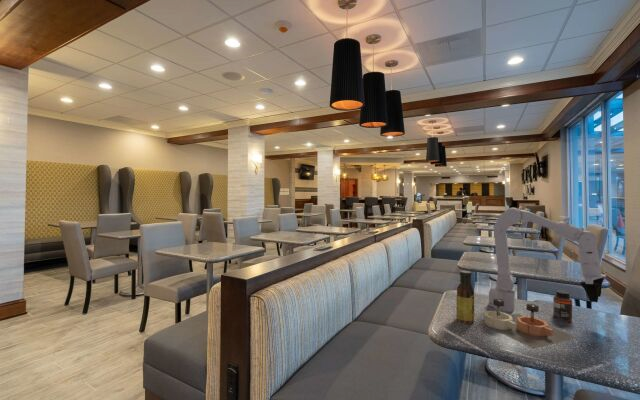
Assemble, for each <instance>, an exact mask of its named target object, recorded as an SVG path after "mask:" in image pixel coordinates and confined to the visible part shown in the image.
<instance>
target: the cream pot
mask: <svg viewBox="0 0 640 400" xmlns="http://www.w3.org/2000/svg"><path fill="white" fill-rule="evenodd" d="M483 315H484V319H483V320H485V324H486V325H488V326H490V327H492V328H496V329H501V330H509V329H513V330H516V323H514V322H513V319H512V316H511V315H512V314H508V313H506V312H504V311H500V316H497V310H488V311H487V310H486V311H484V314H483ZM486 325H485V326H486ZM488 326H487V327H488ZM490 327H489V328H490ZM492 328H491V329H492Z"/></svg>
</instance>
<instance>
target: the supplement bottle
mask: <svg viewBox="0 0 640 400" xmlns="http://www.w3.org/2000/svg"><path fill="white" fill-rule="evenodd" d="M552 306H553V308H552V312H553V313H552V317H553V318H555V319H557V320H559V321H564V322H567V323H570V322H572V319H573V299H572V298H571V297H570V292H569V291H566V290H559V289H558V290H556V295H554V296H553V304H552Z"/></svg>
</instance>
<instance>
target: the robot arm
mask: <svg viewBox="0 0 640 400" xmlns="http://www.w3.org/2000/svg"><path fill="white" fill-rule="evenodd" d="M520 221H521V222H522V223H526V222H528V223H529V222H531V223H534V224H536V225H539V226H541V227H545V228H547V229H549V230H552V232H553V234H554V235H556V236H559V237H560V238H563V239H565V240H568V241H571V242H576V243H578V256H579V264H580V271H581V277H582V278H583V279H584V281H580V285H581V287H582V288H583V290H585V294H586V296H587V298H588V300H589V302H592V303H598V302H599V297H601V295H602V287H603V282H604V280H605V278H606V277H607V274H603V273H602V269H601V261H600V255H599V250H598V245H597V244H598V243H599V239H598V238H597V237H598V236H596V234H594V233H593V232H592V231H589V229H585V228H584V227H578V226H576V225H572V224H571V223H570V221H567V220H566V221H562V220H561V221H557V222H555V221H553V220H550V219H548V218H546V217H544V216H541V215H538V214H537V213H534V212H531V211H528V210H524V209H519V208H517V207H509V208H507V209H506V210H504V211H503V212H502V213H501V214H500V215H499V217H498V218H497V220H496V222H495V223H494V225H493V235H494V237H493V238H494V244H495V245H494V246H495V254H496V255H495V256H496V265H497V278H496V281H495V284H496V285H494V286H492V287H490V289H489V291H488V306H489V307H493V308H495V309H496V310H497V306H496V305H494V304H493V299H501V300H504V306H500V312H505V313H506V312H510V313H511V312H512V313H513V312H515V307H516V305H515V303H516V302H515V301H516V300H515V299H516V290H515V288H514V285H515V284H514V283H515V278H514V275H513V274H512V269H511V263H510V256H509V255H510V254H509V245H508V244H509V243H508V237H507V230H508V229H510V227H511V226H513V225H515V224H517V223H519V222H520Z"/></svg>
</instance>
